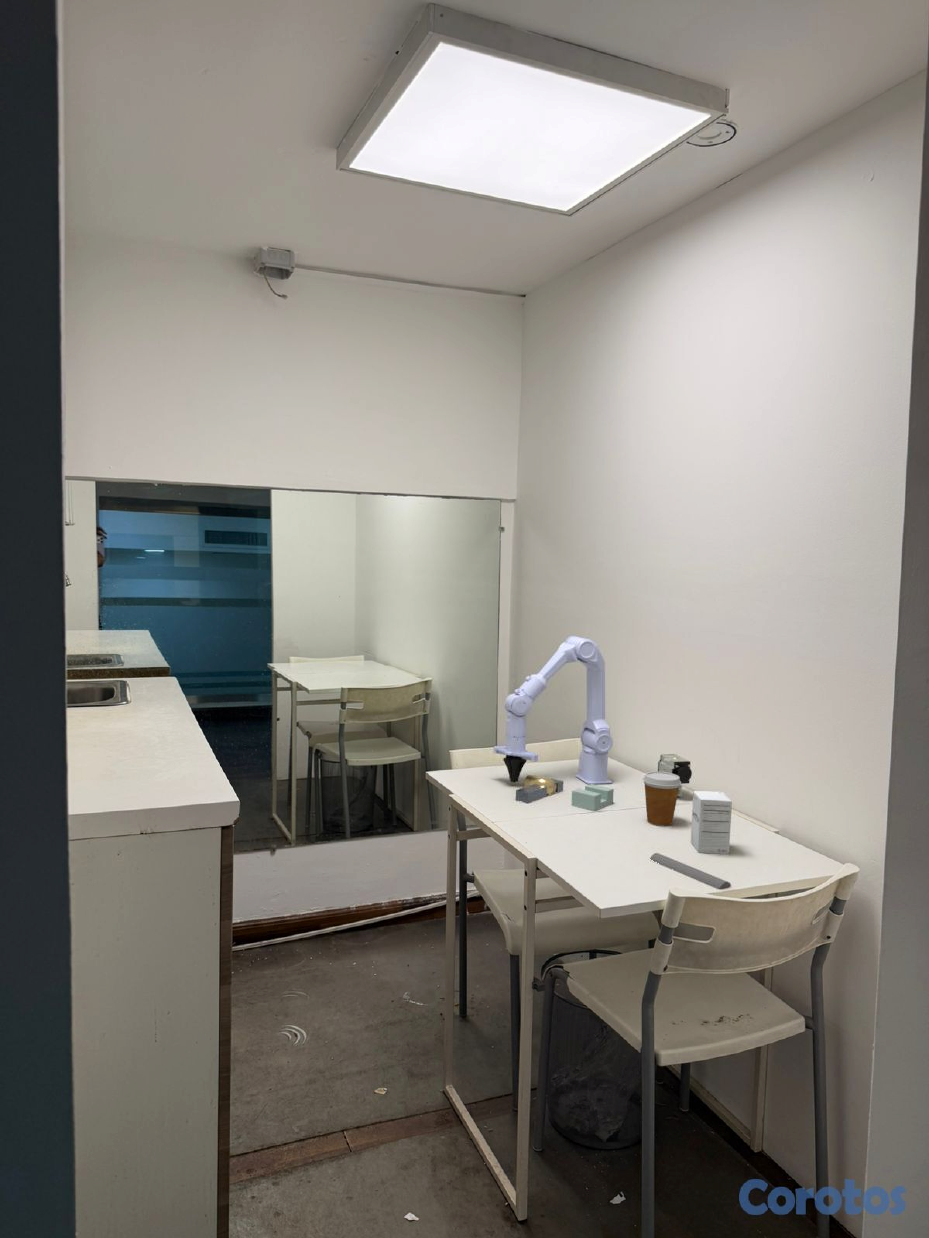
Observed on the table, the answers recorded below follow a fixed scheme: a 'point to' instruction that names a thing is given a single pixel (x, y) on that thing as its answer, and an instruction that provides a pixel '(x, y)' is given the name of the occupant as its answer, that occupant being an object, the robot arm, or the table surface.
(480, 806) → the table surface
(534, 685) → the robot arm
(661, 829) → the table surface
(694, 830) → the supplement box
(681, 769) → the pneumatic valve
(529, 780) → the gold rounded piece
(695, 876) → the half round rod
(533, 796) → the grey rectangular blocks
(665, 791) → the disposable coffee cup
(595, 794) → the v block
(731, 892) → the table surface
